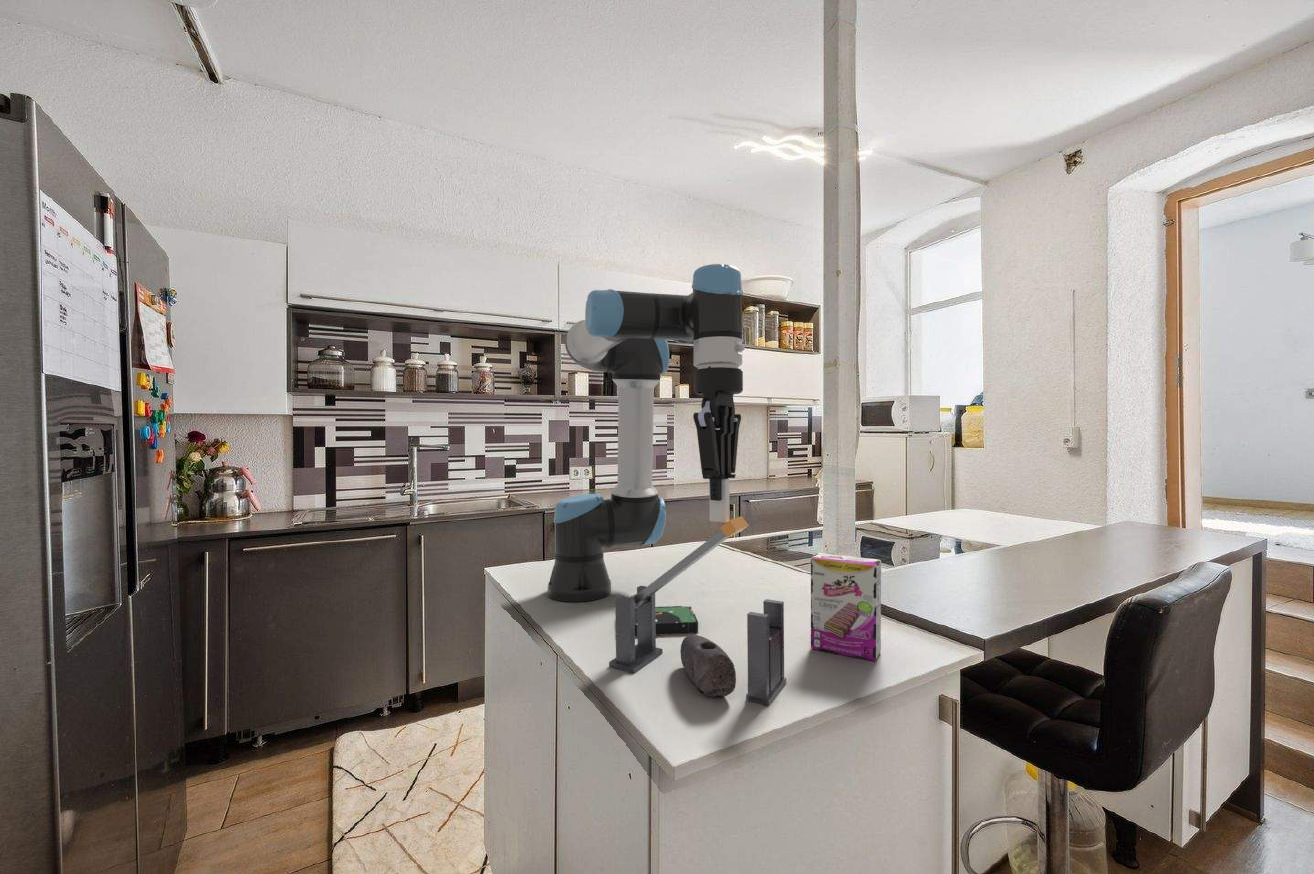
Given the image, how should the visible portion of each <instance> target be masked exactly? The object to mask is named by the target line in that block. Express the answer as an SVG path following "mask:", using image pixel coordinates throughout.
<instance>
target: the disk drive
mask: <svg viewBox="0 0 1314 874" xmlns="http://www.w3.org/2000/svg"><path fill="white" fill-rule="evenodd" d="M655 622H656V635H660V636H661V635H679V634H682V635H685V634H686V635H687V634H688V635H689V634H698V633H699V620H698V618H697V616H696V614H695V612H694V610H693V608H692V606H687V605H686V606H685V605H684V606H682V605H673V606H670V605H669V606H655ZM636 636H637V609H635V637H636Z"/></svg>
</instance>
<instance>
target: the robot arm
mask: <svg viewBox="0 0 1314 874" xmlns="http://www.w3.org/2000/svg"><path fill="white" fill-rule="evenodd" d="M741 273H742V272H741V271H740V269H739V268H737V267H736V266H734V265H731V264H726V263H725V264H724V263H716V264H715V263H714V264H713V263H712V264H705V265H703V266H700V267H698V268H697V269H695V270H694V272H693V275H692V284H691V289H692V292H691V293H689V294H687V295H685V294H682V295H681V294H670V293H669V294H668V293H665V294H664V293H651V292H637V291H627V290H626V291H625V290H623V291H622V290H615V289H613V288H612V289H611V288H610V289H609V288H608V289H594V290H591V291H590V292H589V293H588V295H587V296H586V297H587V300H586V301H585V302H586V303H585V311H584V312H585V315H584V317H585V319H583V320H579V321H577V322H575V323H574V324H573V325H572V326H571V327H570V328H569V330H568V331H567V333H566V336H565V338H564V346H565V350H566V352H567V355H568V357H569V358H570V359H571V361H573V362H574V363H575V364H577V365H578V366H580V367H581V368H584V369H587V370H589V371H592V372H599V373H600V372H601V373H612V377H611V378H612V381H613V382H614V384H615V385H616V386H617V388H618V410H617V411H618V412H617V413H618V416H617V419H618V420H617V423H618V424H617V426H618V427H617V483H616V485H615V486H614V487H613V489H611V492H610V499H609V498H606V499H604V496H603V495H602V494H601V493H586V494H579V495H575V496H574V495H573V496H569V497H565V498H563V499H560V500H559V501H558V502H556V504H555V506H554V514H553V515H554V518H553V523H554V564H553V568H552V571H551V573H550V578H549V582H548V584H547V596H548V597H549V598H551V599H553V600H556V601H560V602H570V603H571V602H573V603H575V602H576V603H577V602H589V601H595V600H599V599H602V598H605V597H608V596H609V595H610V594H611V593H612V580H611V579H610V576H609V573H608V570H607V566H606V563H605V559H604V557H605V556H604V549H605V548H615V547H616V548H617V547H618V548H620V547H629V546H630V547H631V546H639V547H641V546H645V545H650V544H652V545H653V544H655V543H658V541H659V540H660V539H661V538H662V536H663V533H664V530H665V526H666V521H667V510H666V504H665V500H664V499H663V498H662V497H660V496H659V490H657V489H656V487H655V486H654V485H653V462H654V461H653V457H654V455H653V454H654V453H653V451H654V449H653V448H654V406H655V405H654V403H655V402H654V401H655V400H654V398H655V395H654V393H655V391H654V390H655V387H656V386H657V385H658V384H659V383H660V382H661V375H663V374H666V373H667V371H668V369H669V364H670V349H669V343H668V341H674V342H676V344H681V345H689V344H693V366H694V367H695V368H696V369H695V370H694V372H693V392H694V393H695V394H696V395H701V396H702V399H701V403H700V404H701V405H700V406H701V411H700V412H694V413H693V416H692V417H693V422H694V424H695V428H696V434H697V435H696V436H697V442H698V443H697V444H698V452H699V459H700V469H701V475H702V478H703V479H704V480H709V481H708V482H709V483H708V485H709V489H708V492H709V497H708V498H709V522H714V523H715V522H716V523H718V522H719V523H727V522H728V521H730V520H731V519H730V517H731V516H730V513H731V511H730V509H731V508H730V479H735V478H736V470H737V469H736V468H737V456H738V445H739V431H740V426H741V420H742V415H741V414H740V413H736V408H735V402H734V395H739V394H742V392H743V391H744V372H743V371H742V369H741V368H739V367H741V366H742V365H743V351H745V348H746V346H745V345H744V344H743V294H744V291H743V290H742V289H743V287H742V286H743V285H742V274H741Z"/></svg>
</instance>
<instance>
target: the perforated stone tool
mask: <svg viewBox="0 0 1314 874" xmlns="http://www.w3.org/2000/svg"><path fill="white" fill-rule="evenodd" d="M679 652H680V660H681V665H682V667H683V670H684V671H685V673H686V674H687V675H688V677H689V679H690V680H691V681H692V683H693V684H694V686H695V687H696V688H697V689H698V690H700V691H702V692H703V693H704V695H705V696H707V697H711V698H716V697H718V696H719V697H727V696H729V695H731V694H732V693H733V692H734V691H735V688H736V684H737V683H736V682H737V676H736V675H737V674H736V668H735V664H734V662H733V660H731V658H730V657H729V655H728V654H727V653H726V652H725V651H724V650H723V648H721V646H719V645H718V644H717V643H716V642H714V641H712V640H710V639H709V638H706V637H704V636H702V635H697V634H688V635H686V636H685V637H684V638H683V639H682V642H681V644H680V651H679Z"/></svg>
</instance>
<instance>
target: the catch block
mask: <svg viewBox="0 0 1314 874" xmlns="http://www.w3.org/2000/svg"><path fill="white" fill-rule="evenodd" d="M762 603H763V613H760V612H755V611H749V612H748V613H747V614H746V618H747V620H746V621H747V623H746V624H747V625H746V626H747V627H746V629H747V630H746V631H747V634H746V635H747V637H746V638H747V639H746V641H747V642H746V643H747V647H746V648H747V693H746V694H745V700H746V701H747V700H748V701H747V702H752V703H755V704H759V705H763V706H768V707H769V706H770V705H771V704H772V702H773V701H774V700H775V699H776V698H777V696H778V695H779V694H780V692H781V691H782V690H783V688H784V686H786V684H787V677H785V627H784V626H785V619H784V618H785V616H784V615H785V614H784V613H785V611H784V610H785V608H784V606H785V605H784V603H785V602H784V601H782V600H775V599H769V598H765V599H764V600H763V601H762ZM773 699H774V700H773Z"/></svg>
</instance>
